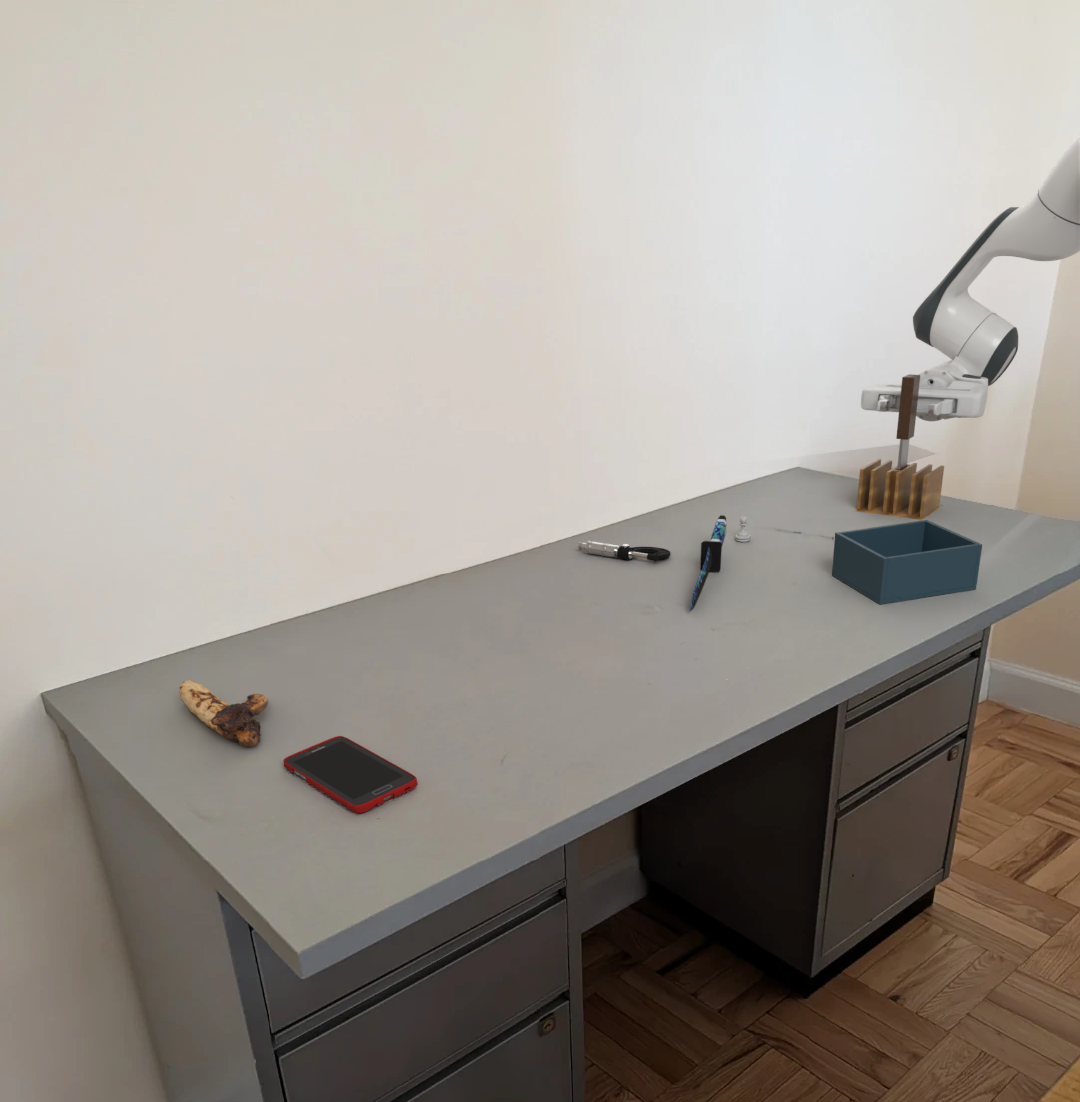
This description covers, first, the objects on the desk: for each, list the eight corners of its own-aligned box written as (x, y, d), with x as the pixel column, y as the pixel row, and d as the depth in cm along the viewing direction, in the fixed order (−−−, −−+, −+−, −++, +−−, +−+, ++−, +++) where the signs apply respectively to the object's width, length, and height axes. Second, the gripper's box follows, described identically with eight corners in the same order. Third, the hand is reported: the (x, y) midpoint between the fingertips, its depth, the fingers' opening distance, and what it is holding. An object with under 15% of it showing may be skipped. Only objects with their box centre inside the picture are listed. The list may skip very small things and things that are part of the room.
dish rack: (852, 517, 181) (856, 470, 177) (874, 503, 187) (879, 457, 184) (921, 526, 174) (926, 477, 170) (941, 511, 181) (947, 464, 177)
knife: (717, 538, 170) (717, 512, 167) (736, 539, 169) (736, 513, 166) (672, 625, 146) (670, 597, 144) (693, 627, 145) (692, 598, 143)
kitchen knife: (888, 509, 180) (901, 377, 170) (895, 504, 182) (909, 374, 172) (900, 510, 178) (913, 377, 168) (906, 506, 181) (921, 374, 171)
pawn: (733, 541, 172) (734, 518, 170) (736, 537, 174) (736, 513, 172) (749, 542, 171) (750, 518, 169) (751, 537, 173) (752, 514, 172)
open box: (922, 562, 158) (926, 519, 155) (976, 589, 147) (982, 544, 144) (831, 575, 155) (834, 532, 152) (879, 604, 144) (884, 558, 141)
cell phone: (358, 817, 101) (357, 808, 101) (280, 767, 111) (279, 759, 110) (421, 786, 106) (420, 778, 105) (341, 741, 115) (340, 733, 115)
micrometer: (678, 553, 168) (678, 538, 167) (656, 566, 163) (656, 551, 162) (599, 541, 176) (599, 527, 175) (576, 553, 171) (576, 538, 170)
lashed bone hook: (305, 736, 118) (237, 686, 131) (301, 699, 116) (232, 651, 129) (228, 762, 113) (165, 707, 126) (222, 724, 111) (158, 671, 123)
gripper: (879, 372, 186) (847, 385, 176) (998, 378, 174) (971, 392, 165) (876, 408, 189) (845, 422, 179) (992, 416, 177) (966, 432, 167)
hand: (906, 408), depth 172 cm, fingers open, 7 cm apart
